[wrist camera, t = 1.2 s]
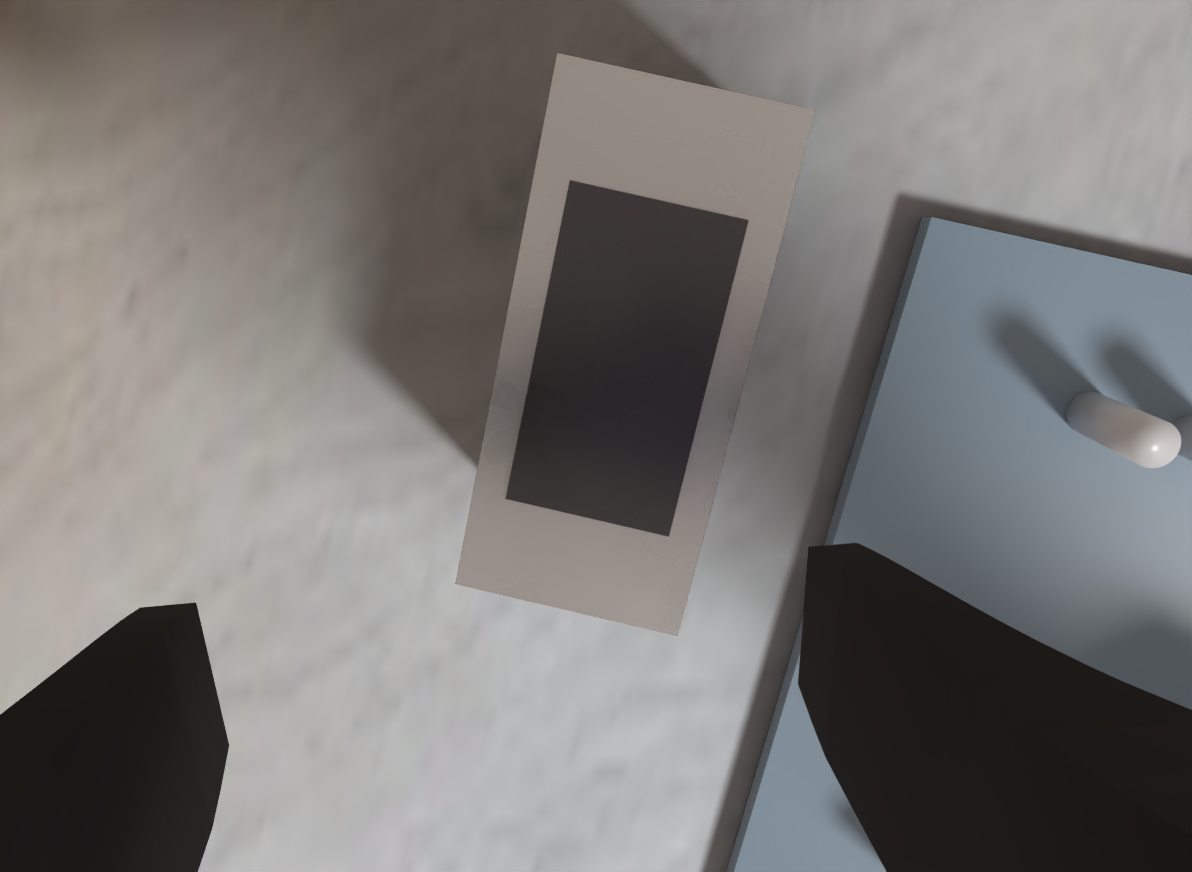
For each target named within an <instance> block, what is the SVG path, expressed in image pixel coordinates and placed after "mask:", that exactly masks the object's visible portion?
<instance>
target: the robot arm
mask: <svg viewBox="0 0 1192 872" xmlns="http://www.w3.org/2000/svg"><path fill="white" fill-rule="evenodd" d="M798 685H799V688H800V691H801V694H802V697H803V699H804V702H805V705H806V708H807V711H808V713H809V716H810V719H811V722H812V724H813V727H814V730H815V732H816V735H817V737H818V740H819V742H820V745H821V747H822V750H823V753H824V755H825V757H826V759H827V761H828V763H829V765H830V767H831V769H832V771H833V773H834V775H835V777H836V779H837V780H838V782H839V784H840V786H841V788H842V790H843V792H844V794H845V796H846V797H847V799H848V801H849V803H850V805H851V807H852V809H853V811H854V813H855V814H856V816H857V818H858V820H859V822H860V824H861V825H862V827H863V829H864V831H865V833H866V835H867V837H868V838H869V840H870V842H871V844H872V846H873V848H874V850H875V851H876V853H877V855H878V857H879V859H880V861H881V862H882V864H883V866H884V868H885V870H886V872H1192V710H1191V709H1188V708H1186V707H1183V706H1181V705H1179V704H1176V703H1174V702H1171V701H1169V700H1167V699H1164V698H1162V697H1159V696H1157V695H1154V694H1152V693H1150V692H1147V691H1145V690H1142V689H1140V688H1138V687H1135V686H1133V685H1130V684H1128V683H1126V682H1123V681H1121V680H1119V679H1116V678H1114V677H1112V676H1110V675H1108V674H1105V673H1103V672H1101V671H1099V670H1096V669H1094V668H1092V667H1090V666H1088V665H1086V664H1084V663H1082V662H1080V661H1078V660H1076V659H1074V658H1072V657H1070V656H1068V655H1066V654H1064V653H1062V652H1059V651H1057V650H1055V649H1053V648H1051V647H1049V646H1047V645H1045V644H1043V643H1041V642H1039V641H1037V640H1035V639H1033V638H1031V637H1029V636H1028V635H1026V634H1024V633H1022V632H1020V631H1018V630H1016V629H1014V628H1012V627H1010V626H1008V625H1007V624H1005V623H1003V622H1001V621H999V620H997V619H996V618H994V617H992V616H990V615H988V614H986V613H985V612H983V611H981V610H979V609H977V608H976V607H974V606H972V605H970V604H968V603H966V602H965V601H963V600H961V599H959V598H958V597H956V596H954V595H952V594H951V593H949V592H947V591H945V590H944V589H942V588H940V587H938V586H936V585H935V584H933V583H931V582H929V581H928V580H926V579H924V578H922V577H921V576H919V575H917V574H915V573H914V572H912V571H910V570H908V569H907V568H905V567H903V566H901V565H899V564H898V563H896V562H894V561H892V560H890V559H889V558H887V557H885V556H883V555H881V554H879V553H877V552H875V551H873V550H871V549H869V548H867V547H865V546H863V545H861V544H859V543H847V544H836V545H825V546H814V547H809V548H808V561H807V574H806V586H805V599H804V612H803V625H802V637H801V650H800V663H799V675H798ZM228 748H229V743H228V739H227V734H226V730H225V726H224V722H223V717H222V713H221V709H220V704H219V700H218V696H217V691H216V687H215V683H214V678H213V674H212V670H211V665H210V661H209V657H208V652H207V648H206V644H205V639H204V635H203V631H202V626H201V622H200V618H199V613H198V609H197V605H196V603H187V604H176V605H165V606H154V607H143V608H139V609H137V610H136V611H134V612H133V613H131V614H130V615H128V616H127V617H126V618H124V619H123V620H121V621H120V622H119V623H117V624H116V625H115V626H113V627H112V628H111V629H109V630H108V631H107V632H105V633H104V634H103V635H102V636H100V637H99V638H98V639H96V640H95V641H94V642H93V643H91V644H90V645H89V646H87V647H86V648H85V649H84V650H82V651H81V652H80V653H79V654H77V655H76V656H75V657H74V658H72V659H71V660H70V661H68V662H67V663H66V664H65V665H63V666H62V667H61V668H60V669H58V670H57V671H56V672H55V673H53V674H52V675H51V676H49V677H48V678H47V679H46V680H44V681H43V682H42V683H40V684H39V685H38V686H37V687H35V688H34V689H33V690H32V691H30V692H29V693H28V694H26V695H25V696H24V697H23V698H21V699H20V700H19V701H17V702H16V703H15V704H14V705H12V706H11V707H10V708H8V709H7V710H6V711H5V712H3V713H2V714H1V715H0V872H198V869H199V866H200V863H201V860H202V857H203V854H204V851H205V848H206V845H207V842H208V839H209V836H210V833H211V830H212V827H213V822H214V817H215V813H216V808H217V804H218V799H219V795H220V790H221V785H222V779H223V774H224V769H225V764H226V758H227V753H228Z"/></svg>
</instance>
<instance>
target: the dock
mask: <svg viewBox="0 0 1192 872" xmlns="http://www.w3.org/2000/svg"><path fill="white" fill-rule="evenodd" d="M847 543H859V544H861V545H863V546H865V547H867V548H869V549H871V550H873V551H875V552H877V553H879V554H881V555H883V556H885V557H887V558H889V559H890V560H892V561H894V562H896V563H898V564H899V565H901V566H903V567H905V568H907V569H908V570H910V571H912V572H914V573H915V574H917V575H919V576H921V577H922V578H924V579H926V580H928V581H929V582H931V583H933V584H935V585H936V586H938V587H940V588H942V589H944V590H945V591H947V592H949V593H951V594H952V595H954V596H956V597H958V598H959V599H961V600H963V601H965V602H966V603H968V604H970V605H972V606H974V607H976V608H977V609H979V610H981V611H983V612H985V613H986V614H988V615H990V616H992V617H994V618H996V619H997V620H999V621H1001V622H1003V623H1005V624H1007V625H1008V626H1010V627H1012V628H1014V629H1016V630H1018V631H1020V632H1022V633H1024V634H1026V635H1028V636H1029V637H1031V638H1033V639H1035V640H1037V641H1039V642H1041V643H1043V644H1045V645H1047V646H1049V647H1051V648H1053V649H1055V650H1057V651H1059V652H1062V653H1064V654H1066V655H1068V656H1070V657H1072V658H1074V659H1076V660H1078V661H1080V662H1082V663H1084V664H1086V665H1088V666H1090V667H1092V668H1094V669H1096V670H1099V671H1101V672H1103V673H1105V674H1108V675H1110V676H1112V677H1114V678H1116V679H1119V680H1121V681H1123V682H1126V683H1128V684H1130V685H1133V686H1135V687H1138V688H1140V689H1142V690H1145V691H1147V692H1150V693H1152V694H1154V695H1157V696H1159V697H1162V698H1164V699H1167V700H1169V701H1171V702H1174V703H1176V704H1179V705H1181V706H1183V707H1186V708H1188V709H1191V710H1192V275H1190V274H1185V273H1181V272H1176V271H1172V270H1167V269H1163V268H1158V267H1154V266H1149V265H1145V264H1140V263H1136V262H1131V261H1127V260H1123V259H1118V258H1114V257H1109V256H1105V255H1100V254H1096V253H1091V252H1087V251H1082V250H1078V249H1073V248H1069V247H1064V246H1060V245H1055V244H1051V243H1046V242H1042V241H1037V240H1033V239H1028V238H1024V237H1019V236H1015V235H1010V234H1006V233H1001V232H997V231H992V230H988V229H983V228H979V227H974V226H970V225H965V224H961V223H956V222H952V221H948V220H943V219H939V218H934V217H922V218H921V222H920V225H919V228H918V232H917V235H916V238H915V242H914V245H913V248H912V252H911V255H910V258H909V262H908V265H907V268H906V272H905V275H904V278H903V282H902V285H901V288H900V292H899V295H898V299H897V302H896V305H895V309H894V312H893V315H892V319H891V322H890V325H889V329H888V332H887V335H886V339H885V342H884V345H883V349H882V352H881V355H880V359H879V362H878V365H877V369H876V372H875V375H874V379H873V382H872V385H871V389H870V392H869V396H868V399H867V402H866V406H865V409H864V412H863V416H862V419H861V422H860V426H859V429H858V432H857V436H856V439H855V442H854V446H853V449H852V452H851V456H850V459H849V462H848V466H847V469H846V472H845V476H844V479H843V482H842V486H841V489H840V493H839V496H838V499H837V503H836V506H835V509H834V513H833V516H832V519H831V523H830V526H829V529H828V533H827V536H826V539H825V543H824V546H825V545H836V544H847ZM802 625H803V616H802V620H801V623H800V626H799V630H798V633H797V636H796V640H795V643H794V646H793V650H792V653H791V656H790V660H789V663H788V666H787V670H786V673H785V676H784V680H783V683H782V687H781V690H780V693H779V697H778V700H777V703H776V707H775V710H774V713H773V717H772V720H771V723H770V727H769V730H768V733H767V737H766V740H765V743H764V747H763V750H762V753H761V757H760V760H759V763H758V767H757V770H756V773H755V777H754V780H753V784H752V787H751V790H750V794H749V797H748V800H747V804H746V807H745V810H744V814H743V817H742V820H741V824H740V827H739V830H738V834H737V837H736V840H735V844H734V847H733V850H732V854H731V857H730V860H729V864H728V867H727V870H726V872H886V870H885V868H884V866H883V864H882V862H881V861H880V859H879V857H878V855H877V853H876V851H875V850H874V848H873V846H872V844H871V842H870V840H869V838H868V837H867V835H866V833H865V831H864V829H863V827H862V825H861V824H860V822H859V820H858V818H857V816H856V814H855V813H854V811H853V809H852V807H851V805H850V803H849V801H848V799H847V797H846V796H845V794H844V792H843V790H842V788H841V786H840V784H839V782H838V780H837V779H836V777H835V775H834V773H833V771H832V769H831V767H830V765H829V763H828V761H827V759H826V757H825V755H824V753H823V750H822V747H821V745H820V742H819V740H818V737H817V735H816V732H815V730H814V727H813V724H812V722H811V719H810V716H809V713H808V711H807V708H806V705H805V702H804V699H803V697H802V694H801V691H800V688H799V685H798V675H799V663H800V650H801V637H802Z"/></svg>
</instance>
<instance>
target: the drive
mask: <svg viewBox="0 0 1192 872" xmlns="http://www.w3.org/2000/svg"><path fill="white" fill-rule="evenodd" d="M815 111H816V110H814V109H809V108H805V107H800V106H795V105H791V104H786V103H782V102H777V101H773V100H768V99H764V98H759V97H755V96H750V95H746V94H741V93H737V92H732V91H728V90H723V89H718V88H714V87H709V86H705V85H700V84H696V83H691V82H687V81H682V80H678V79H673V78H669V77H664V76H660V75H655V74H651V73H646V72H641V71H637V70H632V69H628V68H623V67H619V66H614V65H610V64H605V63H601V62H596V61H592V60H587V59H583V58H578V57H574V56H569V55H564V54H560V53H557V57H556V62H555V67H554V72H553V78H552V83H551V88H550V93H549V98H548V104H547V109H546V114H545V119H544V124H543V130H542V135H541V140H540V145H539V150H538V156H537V161H536V166H535V171H534V177H533V182H532V187H531V192H530V197H529V203H528V208H527V213H526V218H525V223H524V229H523V234H522V239H521V244H520V249H519V255H518V260H517V265H516V270H515V276H514V281H513V286H512V291H511V296H510V302H509V307H508V312H507V317H506V322H505V328H504V333H503V338H502V343H501V348H500V354H499V359H498V364H497V369H496V375H495V380H494V385H493V390H492V395H491V401H490V406H489V411H488V416H487V421H486V427H485V432H484V437H483V442H482V447H481V453H480V458H479V463H478V468H477V474H476V479H475V484H474V489H473V494H472V500H471V505H470V510H469V515H468V520H467V526H466V531H465V536H464V541H463V546H462V552H461V557H460V562H459V567H458V573H457V578H456V583H455V584H458V585H462V586H466V587H471V588H475V589H479V590H483V591H488V592H492V593H496V594H501V595H505V596H509V597H513V598H518V599H522V600H526V601H530V602H535V603H539V604H543V605H548V606H552V607H556V608H560V609H565V610H569V611H573V612H577V613H582V614H586V615H590V616H595V617H599V618H603V619H607V620H612V621H616V622H620V623H624V624H629V625H633V626H637V627H641V628H646V629H650V630H654V631H659V632H663V633H667V634H671V635H676V636H678V633H679V629H680V625H681V621H682V617H683V614H684V610H685V606H686V602H687V598H688V594H689V591H690V587H691V583H692V579H693V575H694V572H695V568H696V564H697V560H698V556H699V553H700V549H701V545H702V541H703V537H704V534H705V530H706V526H707V522H708V518H709V514H710V511H711V507H712V503H713V499H714V495H715V492H716V488H717V484H718V480H719V476H720V473H721V469H722V465H723V461H724V457H725V454H726V450H727V446H728V442H729V438H730V434H731V431H732V427H733V423H734V419H735V415H736V412H737V408H738V404H739V400H740V396H741V393H742V389H743V385H744V381H745V377H746V374H747V370H748V366H749V362H750V358H751V354H752V351H753V347H754V343H755V339H756V335H757V332H758V328H759V324H760V320H761V316H762V313H763V309H764V305H765V301H766V297H767V294H768V290H769V286H770V282H771V278H772V274H773V271H774V267H775V263H776V259H777V255H778V252H779V248H780V244H781V240H782V236H783V233H784V229H785V225H786V221H787V217H788V214H789V210H790V206H791V202H792V198H793V194H794V191H795V187H796V183H797V179H798V175H799V172H800V168H801V164H802V160H803V156H804V153H805V149H806V145H807V141H808V137H809V134H810V130H811V126H812V122H813V118H814V114H815Z"/></svg>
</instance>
